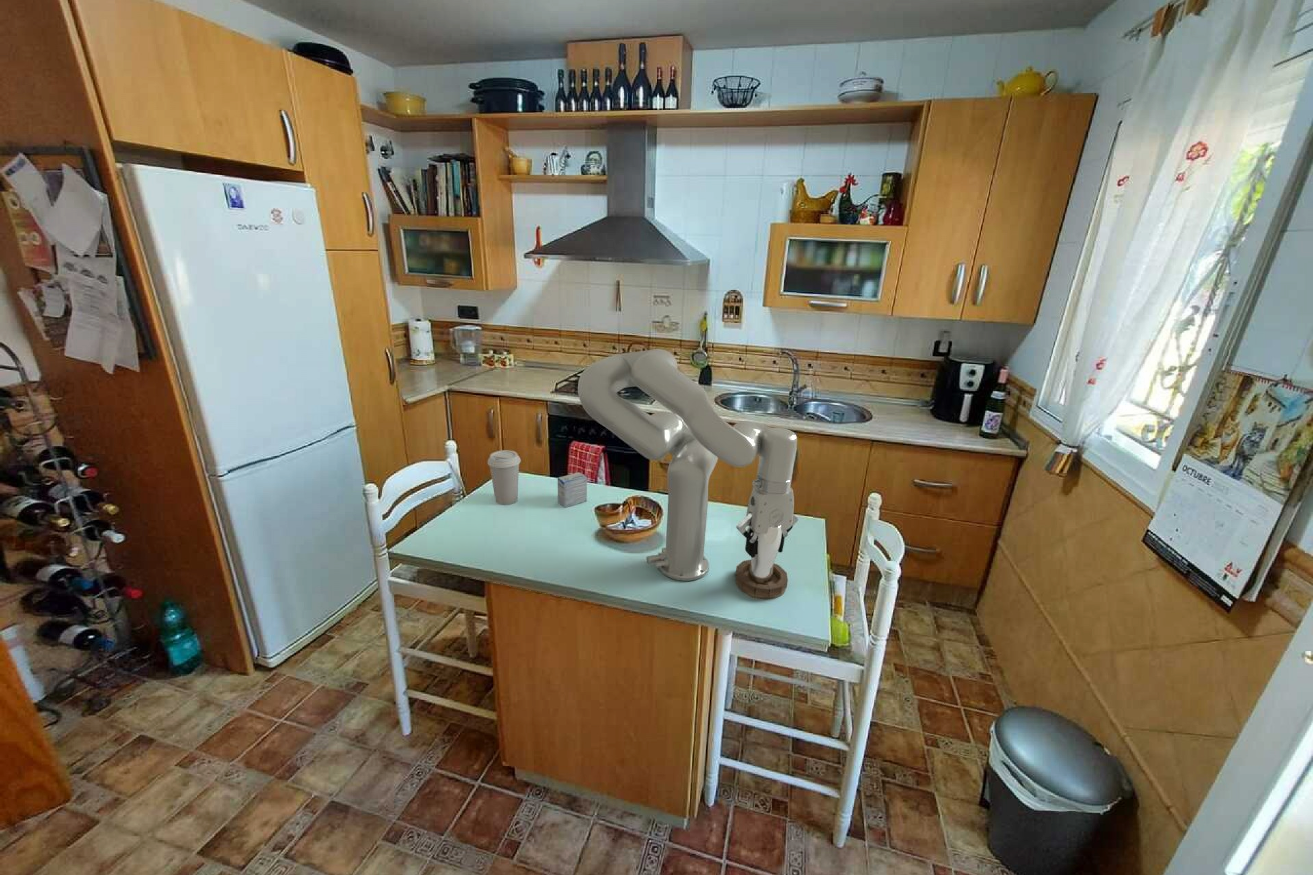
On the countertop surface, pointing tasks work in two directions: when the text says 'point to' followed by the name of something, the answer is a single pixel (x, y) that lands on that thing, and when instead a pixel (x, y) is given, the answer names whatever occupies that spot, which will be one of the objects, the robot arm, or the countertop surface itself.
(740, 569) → the round tray
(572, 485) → the medicine box
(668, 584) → the countertop surface
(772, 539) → the beer glass
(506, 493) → the coffee cup
